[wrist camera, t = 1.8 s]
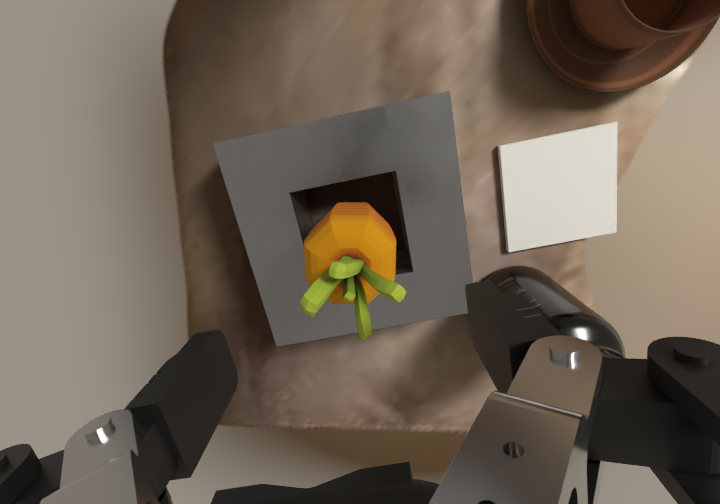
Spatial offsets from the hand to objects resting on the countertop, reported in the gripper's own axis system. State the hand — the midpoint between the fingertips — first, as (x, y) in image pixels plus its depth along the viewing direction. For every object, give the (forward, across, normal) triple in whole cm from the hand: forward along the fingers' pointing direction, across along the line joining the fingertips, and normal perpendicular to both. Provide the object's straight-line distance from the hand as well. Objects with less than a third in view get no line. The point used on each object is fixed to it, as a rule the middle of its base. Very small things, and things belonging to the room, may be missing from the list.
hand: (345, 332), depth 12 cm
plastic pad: (+17, -15, +1) cm, 23 cm away
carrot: (+17, 0, 0) cm, 17 cm away
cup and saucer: (+17, -19, -11) cm, 28 cm away
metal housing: (+17, 0, 0) cm, 17 cm away
